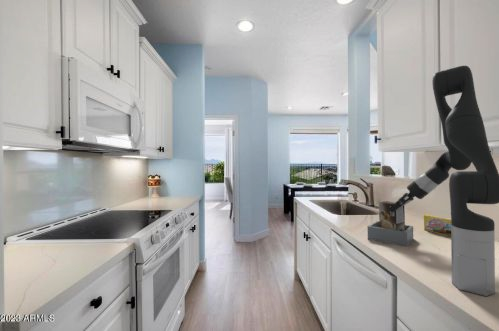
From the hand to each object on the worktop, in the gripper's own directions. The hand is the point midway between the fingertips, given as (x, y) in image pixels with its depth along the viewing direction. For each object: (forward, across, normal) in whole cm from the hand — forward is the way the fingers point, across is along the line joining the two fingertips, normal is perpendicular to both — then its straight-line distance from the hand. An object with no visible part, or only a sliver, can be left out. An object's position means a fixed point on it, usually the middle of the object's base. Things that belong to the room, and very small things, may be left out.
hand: (393, 209), depth 115 cm
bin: (+11, 0, +9) cm, 14 cm away
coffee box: (+10, 0, +9) cm, 13 cm away
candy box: (-1, -25, +21) cm, 33 cm away
